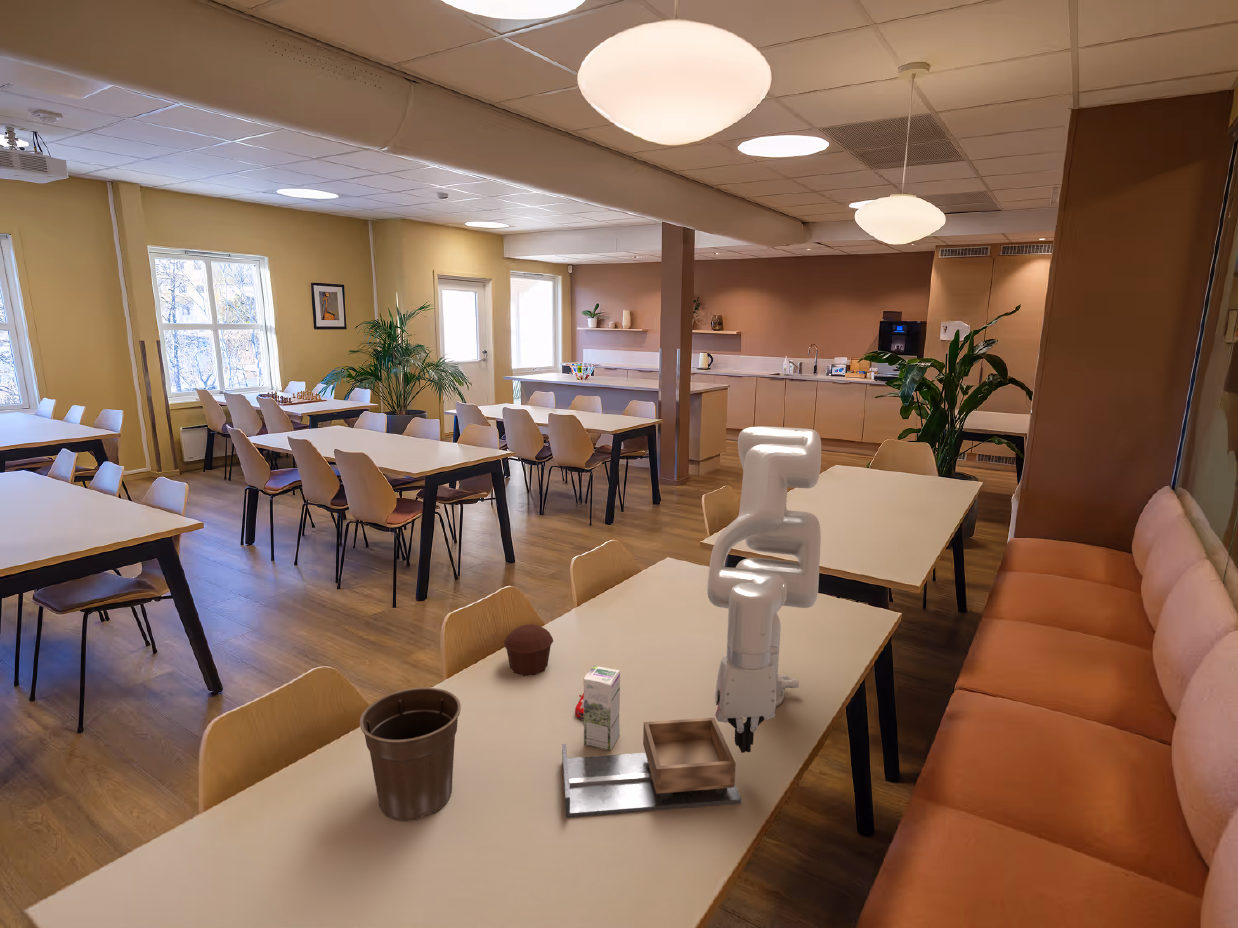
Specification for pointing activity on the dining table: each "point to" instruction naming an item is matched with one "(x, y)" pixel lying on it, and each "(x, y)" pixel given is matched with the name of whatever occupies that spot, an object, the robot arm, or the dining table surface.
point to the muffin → (528, 649)
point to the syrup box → (601, 707)
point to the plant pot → (412, 750)
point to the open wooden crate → (688, 756)
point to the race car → (580, 708)
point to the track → (624, 787)
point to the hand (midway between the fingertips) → (743, 747)
